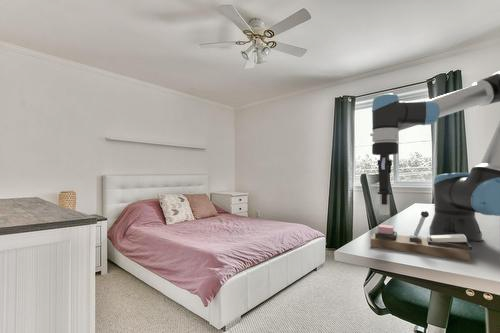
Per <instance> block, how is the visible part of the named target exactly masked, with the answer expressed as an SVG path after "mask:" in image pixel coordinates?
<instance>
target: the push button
mask: <svg viewBox="0 0 500 333" xmlns="http://www.w3.org/2000/svg"><path fill="white" fill-rule="evenodd" d="M378 230H379V233H385V234H393V232H394V225H388V224H382V223H381V224H379V225H378Z"/></svg>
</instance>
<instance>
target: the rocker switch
mask: <svg viewBox="0 0 500 333" xmlns="http://www.w3.org/2000/svg"><path fill="white" fill-rule="evenodd" d="M430 238H431V239H432V242H468V241H467V238H466V236H465V235H464V234H451V235H431V234H430Z"/></svg>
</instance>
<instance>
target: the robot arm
mask: <svg viewBox="0 0 500 333" xmlns="http://www.w3.org/2000/svg"><path fill="white" fill-rule="evenodd" d="M499 102H500V70H498V71H496V72H495V73H492V74H491V75H488V76H486V77H484V78H481V79H479V80H476V81H474V82H473V83H471V85H470V86H467V87H464V88H460V89H458V90H454V91H452V92H448V93H445V94H443V95H439V96H437V97H434V98H431V99H428V100H424V101H421V100H420V101H400V100H399V96H398V94H394V93H385V94H379V95H377V96H375V97H374V98H373V100H372V108H371V112H372V114H371V117H372V118H371V120H372V123H371V124H372V128H371V129H372V133H370V137H372V138H371V139H372V140H371V141H372V144H371V146H372V147H371V148H372V150H371V151H372V153H371V154H372V155H374V156H375V155H376V156H379V159H378V160H377V166H378V169H377V170H378V171H377V172H378V180H379V181H378V183H379V185H378V186H379V190H378V192H376V193H377V195H379V214H380V215H385V216H386V215H387V216H389V215H390V197H391V196H390V195H392V193H393V192H392V191H391V188H390V187H391V183H390V182H391V181H390V180H391V173H392V165H393V160H392V159H390V156H391V155H392V156H393V155H398V154H399V143H398V141H399V132H400V131H403V130H407V129H408V128H412V127H416V126H427V125H434V124H435V123H436V122H437V121H438V120H439V118H442V117H446V116H448V115H452V114H455V113H458V112H460V111H464V110H467V109H469V108H473V107H476V106H480V107H485V106H488V105H490V104H496V103H499ZM496 126H497V127H496V128H495V130H494V133H493V136H492V137H491V140H490V141H489V144H488V147H487V148H486V151H485V153H484V155H483V158H482V160H481V162H480V163H479V164H478V165H475V166H472V167H471V170H470V172H453V173H452V172H451V173H442V174H437V175H436V176H435V177H434V179H433V180H434V181H433V189H434V190H433V191H434V192H433V193H434V197H433V198H434V215H433V217H432V221H431V223H430V226H429V227H428V228H429V231H428V232H429V234H430V236H431V235H451V234H464V235H465V236H466V238H467V242H480V241H483V232H482V231H481V229H480V226H479V224H478V221H477V219H476V213H478V214H480V215H484V216H496V217H500V121H498V124H497V125H496Z"/></svg>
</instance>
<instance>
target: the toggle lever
mask: <svg viewBox="0 0 500 333" xmlns="http://www.w3.org/2000/svg"><path fill="white" fill-rule="evenodd" d="M420 216H421V217H420V219H419V221H418V224H417V226H416V227H415V230H414V233H413V236H418V237H419V234H420V231H421V229H422V228H423V225H424V223H425V220H426V218H428V217H429V216H430V214H429V212H428V211H426V210H423V211H421V213H420Z"/></svg>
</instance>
